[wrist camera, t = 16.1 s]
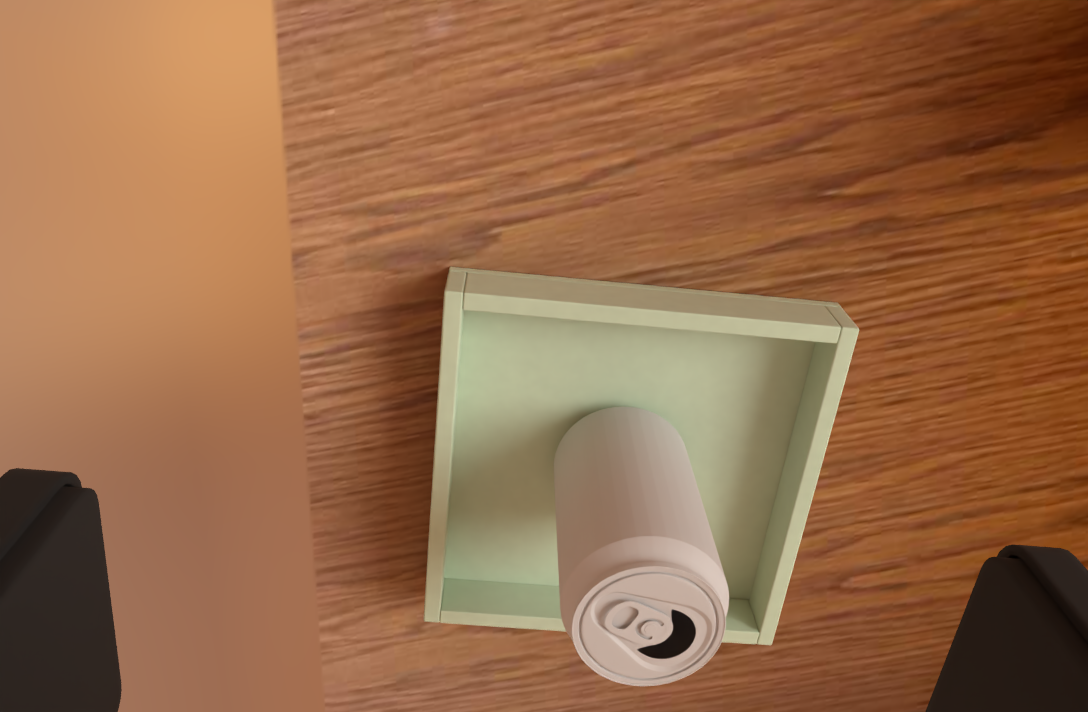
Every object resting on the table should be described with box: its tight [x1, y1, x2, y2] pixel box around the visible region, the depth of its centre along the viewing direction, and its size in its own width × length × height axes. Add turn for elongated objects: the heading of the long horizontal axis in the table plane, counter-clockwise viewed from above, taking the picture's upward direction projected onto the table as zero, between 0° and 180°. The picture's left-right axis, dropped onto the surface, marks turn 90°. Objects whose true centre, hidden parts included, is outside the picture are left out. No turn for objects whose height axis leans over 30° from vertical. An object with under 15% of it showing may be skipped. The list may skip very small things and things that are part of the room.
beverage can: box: [554, 407, 729, 686], centre depth 38 cm, size 6×6×12 cm
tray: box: [424, 267, 859, 645], centre depth 43 cm, size 18×18×3 cm
